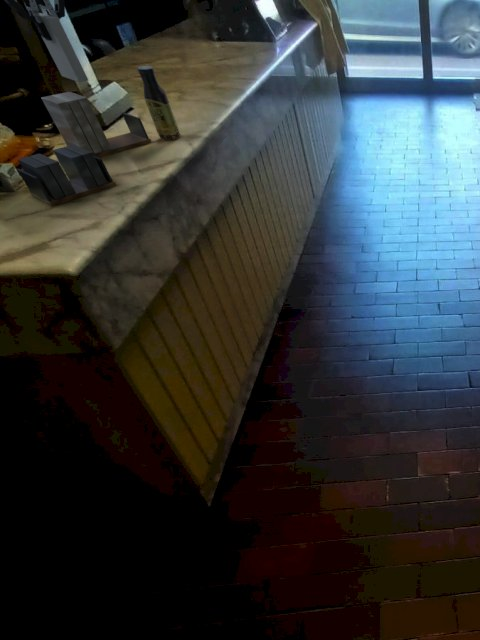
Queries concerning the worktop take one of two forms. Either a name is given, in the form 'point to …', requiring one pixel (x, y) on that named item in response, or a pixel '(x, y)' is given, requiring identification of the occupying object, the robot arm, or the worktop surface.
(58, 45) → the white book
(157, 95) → the sauce bottle
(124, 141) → the grey book stand
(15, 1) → the robot arm
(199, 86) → the worktop surface
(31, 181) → the grey book rack
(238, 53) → the worktop surface
